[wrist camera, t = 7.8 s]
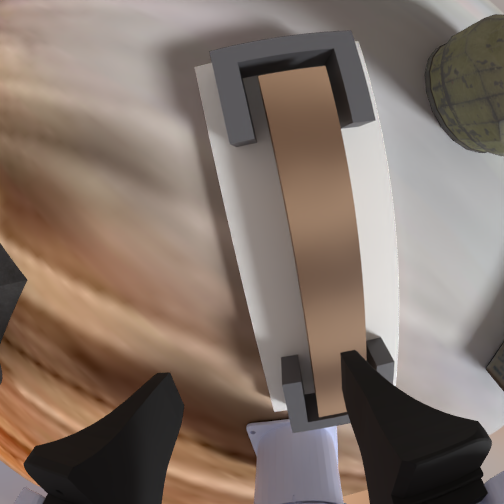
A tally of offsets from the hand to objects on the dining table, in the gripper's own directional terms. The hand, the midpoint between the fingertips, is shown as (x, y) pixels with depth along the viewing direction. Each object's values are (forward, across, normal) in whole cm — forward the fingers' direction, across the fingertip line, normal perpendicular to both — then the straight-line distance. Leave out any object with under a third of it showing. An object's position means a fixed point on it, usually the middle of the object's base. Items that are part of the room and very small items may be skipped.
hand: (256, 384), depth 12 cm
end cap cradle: (+9, -4, -3) cm, 10 cm away
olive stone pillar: (+10, -18, -12) cm, 24 cm away
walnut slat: (+8, -4, -3) cm, 9 cm away
